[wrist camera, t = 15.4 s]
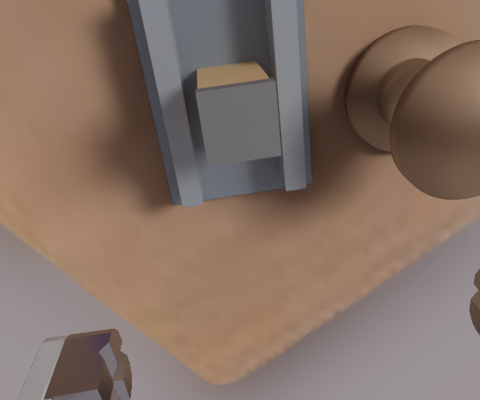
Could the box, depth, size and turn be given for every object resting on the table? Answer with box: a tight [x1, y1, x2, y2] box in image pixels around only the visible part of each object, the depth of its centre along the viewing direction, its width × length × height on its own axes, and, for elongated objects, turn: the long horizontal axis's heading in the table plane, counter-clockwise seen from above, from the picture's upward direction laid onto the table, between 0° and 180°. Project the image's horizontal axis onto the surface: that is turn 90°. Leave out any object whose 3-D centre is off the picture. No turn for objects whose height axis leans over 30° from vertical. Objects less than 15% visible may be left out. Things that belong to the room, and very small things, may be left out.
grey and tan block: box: [195, 61, 281, 167], centre depth 26 cm, size 4×4×7 cm
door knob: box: [345, 26, 480, 200], centre depth 27 cm, size 9×9×9 cm
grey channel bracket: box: [127, 0, 312, 207], centre depth 28 cm, size 16×11×4 cm
